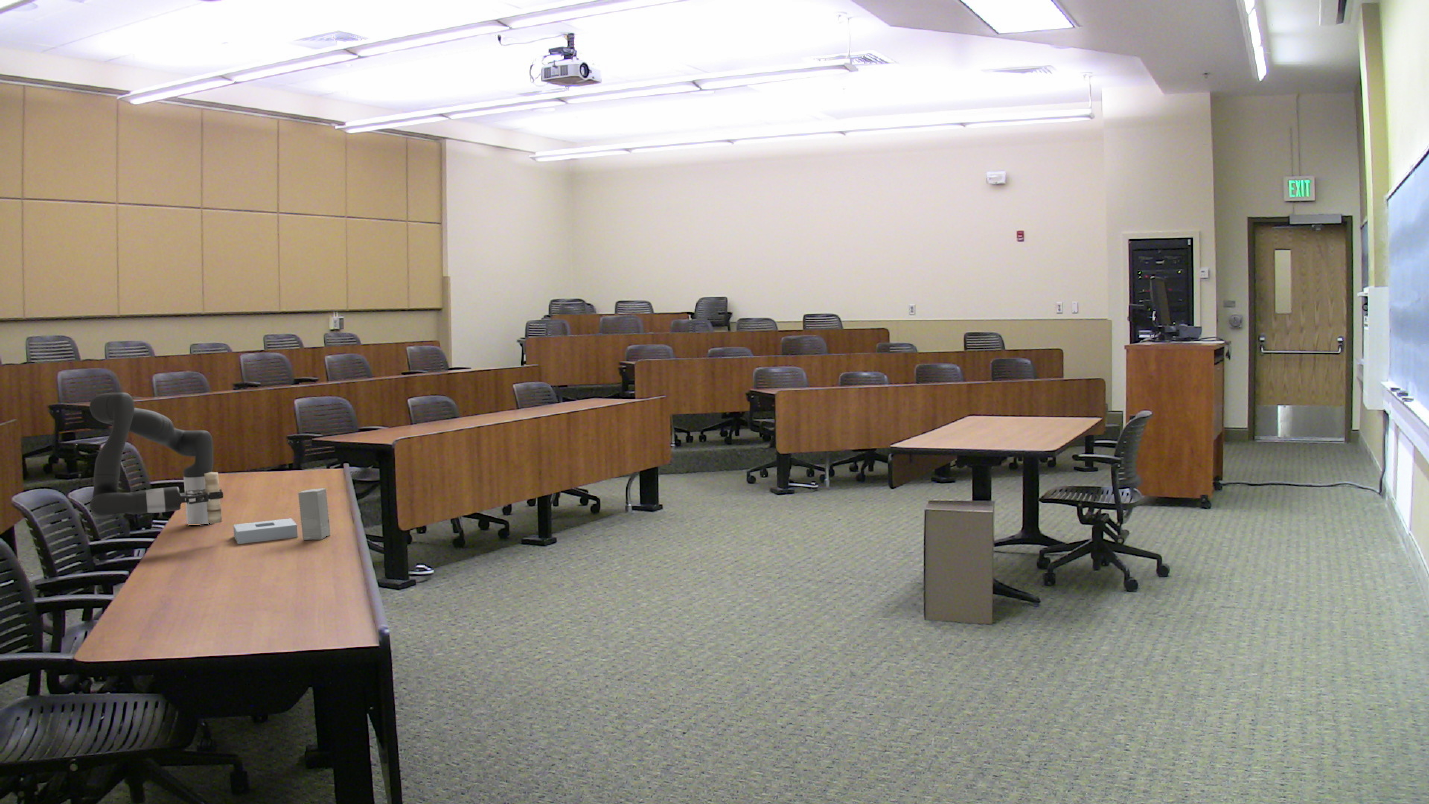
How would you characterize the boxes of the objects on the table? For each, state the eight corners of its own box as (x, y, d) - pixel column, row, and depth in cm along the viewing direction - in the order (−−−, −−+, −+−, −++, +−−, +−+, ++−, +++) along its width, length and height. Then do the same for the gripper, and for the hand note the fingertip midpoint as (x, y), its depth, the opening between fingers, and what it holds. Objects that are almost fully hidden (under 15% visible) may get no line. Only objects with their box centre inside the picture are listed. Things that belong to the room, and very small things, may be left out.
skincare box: (321, 540, 347) (318, 491, 345) (299, 540, 347) (296, 492, 345) (331, 534, 355) (328, 487, 354) (310, 535, 355) (307, 487, 354)
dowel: (207, 521, 348) (203, 473, 347) (221, 520, 350) (217, 471, 349) (208, 524, 345) (204, 474, 343) (222, 522, 347) (218, 473, 345)
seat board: (234, 536, 357) (233, 524, 356) (291, 529, 365) (291, 518, 365) (237, 544, 344) (237, 531, 344) (297, 536, 353) (296, 524, 353)
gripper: (162, 491, 333) (223, 485, 341) (161, 484, 346) (220, 479, 354) (164, 515, 334) (225, 508, 342) (163, 507, 347) (221, 501, 355)
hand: (222, 493), depth 348 cm, fingers closed on dowel, 4 cm apart
